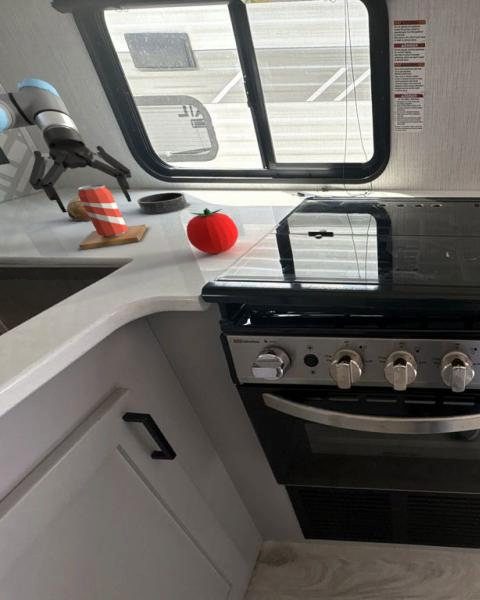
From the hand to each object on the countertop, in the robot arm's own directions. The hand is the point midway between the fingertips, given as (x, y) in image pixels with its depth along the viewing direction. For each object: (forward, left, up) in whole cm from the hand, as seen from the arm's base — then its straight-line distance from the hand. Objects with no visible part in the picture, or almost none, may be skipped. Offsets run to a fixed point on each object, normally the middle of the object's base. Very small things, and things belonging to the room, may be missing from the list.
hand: (97, 204), depth 86 cm
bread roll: (-10, +22, -8) cm, 26 cm away
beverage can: (+2, -5, -7) cm, 9 cm away
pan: (+10, +22, -8) cm, 26 cm away
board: (+2, -5, -8) cm, 10 cm away
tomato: (+27, -27, -8) cm, 39 cm away
